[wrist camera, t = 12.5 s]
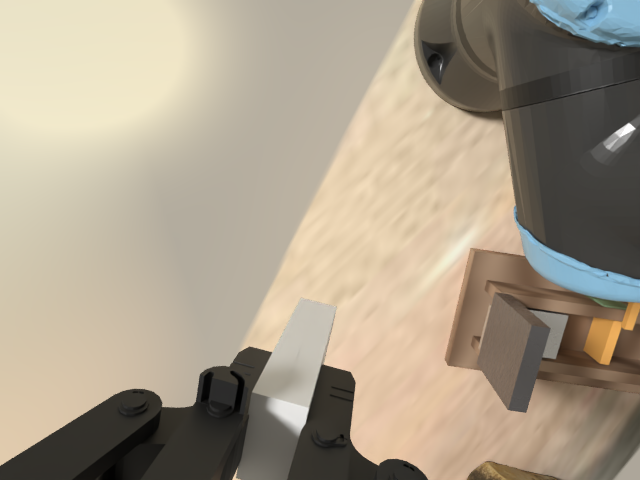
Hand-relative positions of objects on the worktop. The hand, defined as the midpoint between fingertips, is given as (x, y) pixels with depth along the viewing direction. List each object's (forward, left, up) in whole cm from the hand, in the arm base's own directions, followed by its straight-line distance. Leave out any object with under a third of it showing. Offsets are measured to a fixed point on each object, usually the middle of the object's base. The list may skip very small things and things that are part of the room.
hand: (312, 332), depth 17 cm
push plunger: (+4, +23, -29) cm, 37 cm away
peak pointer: (+1, +33, -29) cm, 43 cm away
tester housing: (+3, +30, -30) cm, 43 cm away
